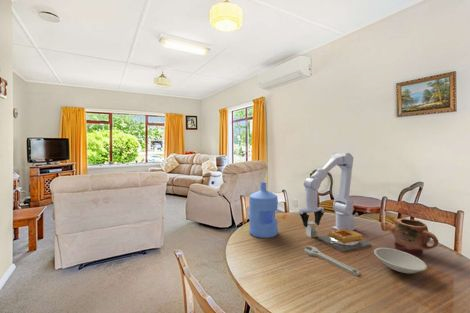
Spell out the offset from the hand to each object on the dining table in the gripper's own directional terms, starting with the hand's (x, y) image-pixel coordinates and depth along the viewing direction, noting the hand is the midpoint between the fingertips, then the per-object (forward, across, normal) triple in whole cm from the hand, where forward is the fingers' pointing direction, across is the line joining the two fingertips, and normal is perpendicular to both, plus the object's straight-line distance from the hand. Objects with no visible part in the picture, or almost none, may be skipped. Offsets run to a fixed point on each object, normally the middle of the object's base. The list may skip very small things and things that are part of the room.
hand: (311, 225), depth 121 cm
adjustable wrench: (+6, +12, +24) cm, 28 cm away
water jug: (+6, +22, -13) cm, 26 cm away
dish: (+6, -8, +40) cm, 41 cm away
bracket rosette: (+5, -9, +13) cm, 17 cm away
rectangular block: (+5, 0, 0) cm, 5 cm away
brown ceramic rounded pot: (+6, -28, +33) cm, 44 cm away
